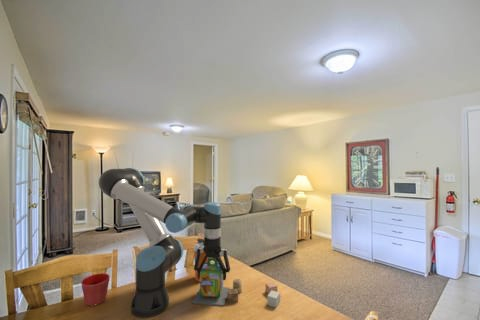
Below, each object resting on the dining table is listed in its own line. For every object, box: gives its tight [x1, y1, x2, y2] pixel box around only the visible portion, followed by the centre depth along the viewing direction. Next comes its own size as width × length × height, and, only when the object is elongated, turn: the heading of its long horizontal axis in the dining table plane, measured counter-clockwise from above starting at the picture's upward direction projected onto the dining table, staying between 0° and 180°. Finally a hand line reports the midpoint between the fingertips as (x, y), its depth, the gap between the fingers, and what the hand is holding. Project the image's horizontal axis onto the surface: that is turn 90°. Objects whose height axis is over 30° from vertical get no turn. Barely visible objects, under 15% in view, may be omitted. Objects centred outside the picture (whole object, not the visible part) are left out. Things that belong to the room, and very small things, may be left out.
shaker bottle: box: [193, 238, 208, 283], centre depth 124 cm, size 9×9×20 cm
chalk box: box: [199, 258, 222, 297], centre depth 108 cm, size 9×9×15 cm
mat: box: [192, 286, 231, 307], centre depth 108 cm, size 14×14×1 cm
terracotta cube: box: [265, 281, 278, 296], centre depth 111 cm, size 4×4×4 cm
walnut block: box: [227, 288, 239, 304], centre depth 105 cm, size 4×4×4 cm
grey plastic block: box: [267, 290, 281, 308], centre depth 103 cm, size 4×5×4 cm
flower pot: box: [80, 272, 110, 306], centre depth 104 cm, size 11×11×10 cm
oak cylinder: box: [232, 278, 243, 295], centre depth 112 cm, size 4×4×5 cm
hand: (211, 285), depth 108 cm, fingers closed on chalk box, 9 cm apart
